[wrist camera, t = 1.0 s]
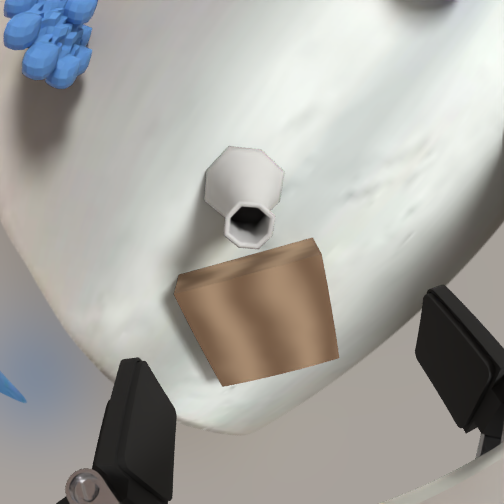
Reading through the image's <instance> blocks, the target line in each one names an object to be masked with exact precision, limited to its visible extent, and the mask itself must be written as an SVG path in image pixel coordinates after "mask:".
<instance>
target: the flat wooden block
mask: <svg viewBox="0 0 504 504" xmlns="http://www.w3.org/2000/svg"><path fill="white" fill-rule="evenodd" d="M174 296H175V298H176V300H177V302H178V304H179V306H180V308H181V310H182V312H183V314H184V316H185V318H186V320H187V322H188V324H189V326H190V328H191V330H192V332H193V333H194V335H195V337H196V339H197V341H198V343H199V345H200V347H201V349H202V350H203V352H204V354H205V356H206V358H207V360H208V362H209V363H210V365H211V367H212V369H213V371H214V372H215V374H216V376H217V378H218V379H219V381H220V383H221V385H222V387H224V386H229V385H234V384H239V383H243V382H248V381H253V380H257V379H262V378H266V377H270V376H275V375H279V374H283V373H287V372H291V371H295V370H298V369H302V368H306V367H310V366H313V365H317V364H320V363H324V362H327V361H331V360H334V359H337V358H339V353H338V346H337V339H336V333H335V327H334V320H333V314H332V308H331V303H330V297H329V291H328V286H327V280H326V275H325V270H324V264H323V259H322V254H321V252H320V250H319V248H318V247H317V245H316V243H315V241H314V239H313V238H309V239H306V240H302V241H299V242H295V243H292V244H288V245H284V246H281V247H277V248H274V249H270V250H266V251H263V252H259V253H256V254H252V255H248V256H245V257H241V258H238V259H234V260H231V261H227V262H223V263H220V264H216V265H212V266H209V267H205V268H202V269H198V270H194V271H191V272H187V273H184V274H180V275H179V276H178V280H177V284H176V288H175V291H174Z"/></svg>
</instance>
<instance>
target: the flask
mask: <svg viewBox="0 0 504 504" xmlns="http://www.w3.org/2000/svg"><path fill="white" fill-rule="evenodd" d="M283 178H284V170H283V169H281V168H280V167H279V166H278V165H277V164H276V163H275V162H274V161H273V160H272V159H271V158H270V157H269V156H268V155H267V154H266V153H265V152H264V151H262V150H261V149H252V148H242V147H232V146H228V147H227V148H226V150H225V151H224V152H223V153H222V154H221V155H220V156H219V157H218V158H217V159H216V160H215V161H214V162H213V163H212V165H211V166H210V167H209V168H208V169H207V172H206V184H205V197H204V201H206V202H207V203H208V204H209V205H210V206H212V207H213V208H214V209H215V210H216V211H217V212H219V213H220V214H221V215H222V216H223V217H225V224H224V236H225V237H226V238H228V239H229V240H230V241H231V242H232V243H234V244H235V245H236V246H237V247H239V248H250V249H259V248H260V247H261V246H262V245H263V244H264V243H265V242H267V241H268V240H269V239H270V238H271V237H272V236H273V230H274V223H275V215H274V214H273V213H272V212H271V210H272V209H273V208H274V207H275V206H276V205H277V204H278V203H279V202H280V197H281V191H282V184H283Z"/></svg>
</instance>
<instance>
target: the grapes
mask: <svg viewBox="0 0 504 504" xmlns="http://www.w3.org/2000/svg"><path fill="white" fill-rule="evenodd" d="M97 2H98V0H6V1H5V4H4V16H5V17H7V18H11V20H10V21H9V22H8V23H7V26H6V29H5V32H4V46H6V47H7V48H10V49H12V50H24V49H25V48H28V50H27V51H26V52H25V54H24V57H23V61H22V74H24V75H25V76H26V77H28V78H31V79H33V80H43V79H45V82H46V83H47V84H48V85H50V86H52V87H54V88H57V89H66V88H67V87H69V86H71V85H72V84H73V82H74V81H75V79H76V78H77V76H79V75H80V74H82V73H84V72H85V70H86V69H87V67H88V65H89V61H90V58H91V54H92V50H91V49H89V48H87V47H86V45H87V44H88V41H89V38H90V35H91V31H92V28H91V27H88V26H86V25H83V24H84V23H86V22H88V21H89V20H90V19H91V17H92V16H93V14H94V11H95V9H96V6H97Z"/></svg>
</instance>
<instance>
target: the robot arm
mask: <svg viewBox="0 0 504 504" xmlns="http://www.w3.org/2000/svg"><path fill="white" fill-rule="evenodd" d="M415 354H416V358H417V360H418V362H419V363H420V365H421V366H422V368H423V370H424V371H425V373H426V374H427V376H428V377H429V379H430V381H431V382H432V384H433V386H434V387H435V389H436V390H437V392H438V394H439V395H440V397H441V399H442V400H443V402H444V404H445V405H446V407H447V409H448V410H449V412H450V414H451V415H452V417H453V419H454V421H455V422H456V424H457V426H458V427H459V428H463V429H464V431H465V433H468V432H470V431H471V430H473V429H475V428H477V427H478V428H479V430H480V432H481V436H480V441H479V445H478V450H477V454H476V458H475V460H473V461H471V462H470V463H468V464H466V465H464V466H462V467H460V468H458V469H456V470H455V471H453V472H451V473H449V474H447V475H445V476H443V477H441V478H439V479H437V480H435V481H432V482H430V483H428V484H426V485H424V486H421V487H419V488H417V489H415V490H412V491H410V492H407V493H405V494H403V495H400V496H397V497H395V498H392V499H390V500H387V501H384V502H381V503H378V504H504V348H503V347H502V346H501V345H500V344H499V343H498V342H497V340H496V339H495V338H494V337H493V336H492V335H491V334H490V332H489V331H488V330H487V329H486V328H485V327H484V326H483V325H482V324H481V323H480V321H479V320H478V319H477V318H476V317H475V316H474V315H473V314H472V313H471V312H470V311H469V310H468V309H467V307H465V305H463V303H462V302H461V301H460V300H459V299H458V298H457V297H456V296H455V295H454V294H453V293H452V292H451V291H450V290H449V289H448V288H447V287H446V286H445V285H440V286H437V287H434V288H431V289H429V290H428V291H427V295H425V296H424V298H423V306H422V313H421V320H420V326H419V332H418V338H417V344H416V349H415ZM175 432H176V411H175V408H174V406H173V405H172V403H171V402H170V400H169V398H168V397H167V395H166V394H165V392H164V391H163V389H162V387H161V386H160V384H159V382H158V381H157V379H156V377H155V376H154V374H153V372H152V371H151V369H150V367H149V366H148V364H147V362H146V361H142V360H141V359H140V358H130V359H123V360H122V361H121V363H120V366H119V369H118V373H117V376H116V380H115V384H114V387H113V391H112V395H111V399H110V400H109V401H108V403H107V406H106V410H105V414H104V418H103V422H102V426H101V430H100V435H99V439H98V443H97V448H96V452H95V457H94V461H93V466H92V469H88V468H84V469H80V470H78V471H75V472H74V473H73V474H72V475H71V476H70V477H69V479H68V480H67V483H66V486H65V493H66V497H65V498H63V499H62V500H60V501H59V502H58V503H56V504H168V501H170V500H171V499H172V492H173V468H174V449H175Z"/></svg>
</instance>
